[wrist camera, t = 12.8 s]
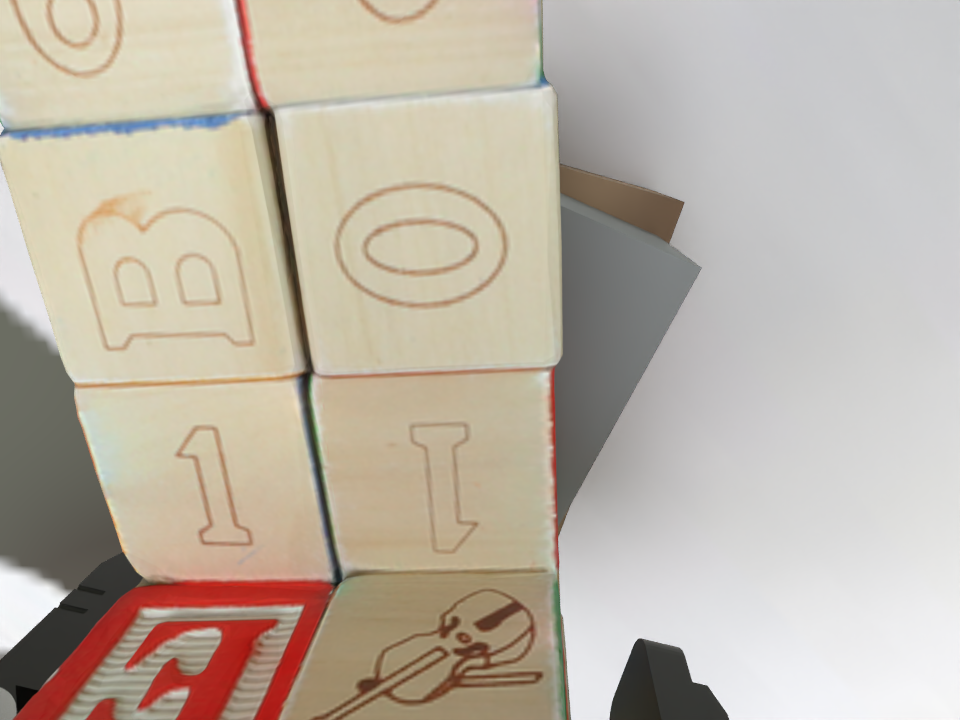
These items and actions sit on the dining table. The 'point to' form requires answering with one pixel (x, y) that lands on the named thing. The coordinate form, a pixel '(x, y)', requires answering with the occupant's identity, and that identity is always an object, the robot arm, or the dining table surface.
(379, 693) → the stack of blocks
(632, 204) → the tower base block
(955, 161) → the dining table surface
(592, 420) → the tower top block
